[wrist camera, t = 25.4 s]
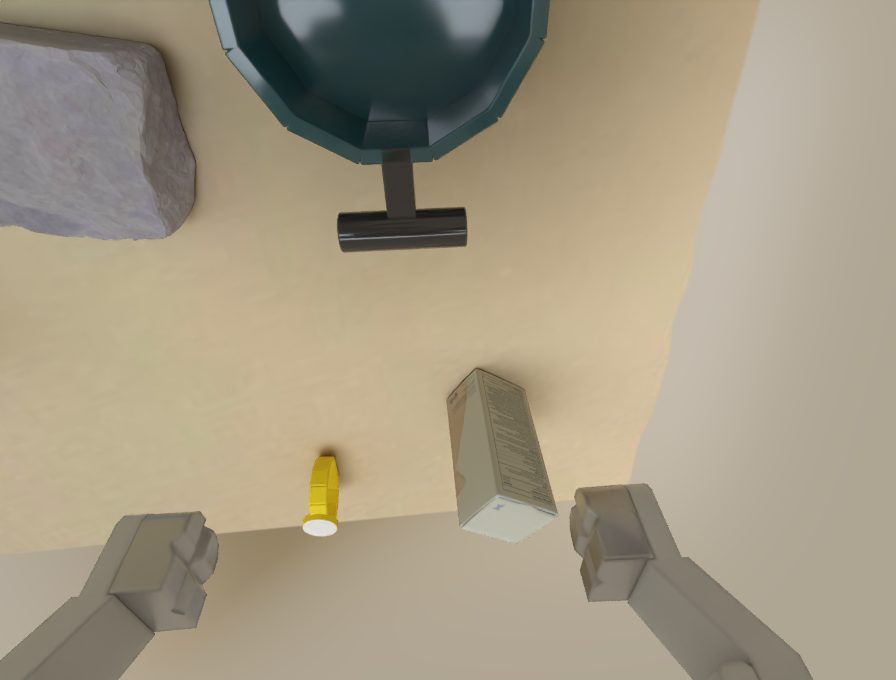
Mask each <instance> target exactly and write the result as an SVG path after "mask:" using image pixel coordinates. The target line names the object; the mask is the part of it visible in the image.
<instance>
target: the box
mask: <svg viewBox="0 0 896 680" xmlns="http://www.w3.org/2000/svg"><path fill="white" fill-rule="evenodd" d="M447 409H448V420H449V429H450V438H451V448H452V458H453V468H454V478H455V487H456V497H457V507H458V517H459V527H460V528H461V529H463V530H467V531H470V532H474V533H478V534H481V535H484V536H488V537H491V538H495V539H499V540H502V541H506V542H510V543H513V544H518V543H520V542H521V541H523V540H525V539H526V538H527V537H529V536H530V535H532V534H533V533H534V532H536V531H537V530H539V529H540V528H542V527H543V526H545V525H546V524H547V523H549V522H550V521H552V520H553V519H555V518H557V517H558V512H557V509H556V505H555V501H554V497H553V494H552V490H551V486H550V483H549V479H548V475H547V471H546V468H545V464H544V460H543V457H542V453H541V449H540V445H539V442H538V438H537V435H536V431H535V427H534V424H533V420H532V416H531V412H530V409H529V405H528V401H527V397H526V394H525V391H524V390H523V389H521V388H519V387H517V386H515V385H513V384H511V383H509V382H507V381H504V380H502V379H500V378H498V377H496V376H493V375H491V374H489V373H486V372H483V371H481V370H479V369H475V370H474V371H473V372H472V373H471V374H470V375H469V376H468V377H467V378H466V379H465V380H464V381H463V382H462V384H461V385H460V386H459V387H458V388H457V389H456V390H455V391H454V392H453V394H452V395H451V396H450V397H449V398H448V399H447Z"/></svg>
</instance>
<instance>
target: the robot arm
mask: <svg viewBox="0 0 896 680" xmlns="http://www.w3.org/2000/svg"><path fill="white" fill-rule="evenodd" d="M574 498H575V501H576V505H575V506H574V507H572V508H571V513H570V531H571V537H572V541H573V546H574V549H575V551H576V552H577V553H578V554H579V555H580V556H581V557H582V558H583V562H582V565H581V569H580V572H581V576H582V580H583V584H584V587H585V591H586V595H587V598H588V601H589V602H596V601H621V600H628V604H629V605H630V606H631V607H632V608H633V609H634V611H635V612H636V613H637V614H638V615H639V617H641V619H642V620H643V621H644V623H645V624H646V625H647V626H648V627H649V628H650V629H651V630H652V632H653V633H654V634H655V635H656V637H657V638H658V639H659V640H660V641H661V642H662V644H663V645H664V646H665V647H666V649H667V650H668V651H669V652H670V653H671V654H672V656H673V657H674V658H675V659H676V660H677V661H678V663H679V664H680V665H681V666H682V667H683V669H685V671H686V672H687V673H688V674H689V676H690V677H691V678H692V679H693V680H813V679H812V677H811V675H810V673H809V671H808V669H807V667H806V666H805V664H804V662H803V660H802V658H801V656H800V655H799V654H798V653H797V652H796V651H795V650H794V649H793V648H791V647H790V646H789V645H788V644H787V643H786V642H785V641H783V640H782V639H781V638H780V637H779V636H778V635H777V634H776V633H774V632H773V631H772V630H771V629H770V628H769V627H768V626H766V625H765V624H764V623H763V622H762V621H761V620H760V619H758V618H757V617H756V616H755V615H754V614H753V613H752V612H750V611H749V610H748V609H747V608H746V607H745V606H744V605H742V604H741V603H740V602H739V601H738V600H737V599H735V598H734V597H733V596H732V595H731V594H730V593H729V592H728V591H727V590H725V589H724V588H723V587H722V586H721V585H720V584H719V583H717V582H716V581H715V580H714V579H713V578H712V577H711V576H709V575H708V574H707V573H706V572H705V571H704V570H703V569H701V568H700V567H699V566H698V565H697V564H696V563H695V562H693V561H692V560H691V559H690V558H689V557H681V555H680V553H679V550H678V548H677V546H676V543H675V541H674V539H673V537H672V534H671V532H670V530H669V528H668V525H667V523H666V521H665V519H664V516H663V514H662V512H661V509H660V507H659V505H658V502H657V500H656V498H655V496H654V494H653V491H652V489H651V488H650V487H649V486H648V485H647V484H644V483H643V484H628V485H609V486H597V487H584V488H578V489H577V490H576V492H575V496H574ZM205 521H206V518H205V517H204V516H203V514H202V513H201V512H200V511H197V512H181V513H165V514H142V515H128V516H124V517H123V518H122V519H121V520H120V521H119V522H118V523H117V524H116V525H115V527H114V529H113V531H112V533H111V535H110V537H109V539H108V541H107V543H106V545H105V547H104V549H103V551H102V553H101V554H100V556H99V558H98V560H97V562H96V564H95V566H94V568H93V570H92V572H91V574H90V576H89V578H88V580H87V582H86V584H85V586H84V587H83V590H82V591H81V593H80V595H79V597H71V598H70V599H69V600H68V601H67V602H66V603H64V604H63V605H62V606H61V607H60V608H59V609H58V610H56V611H55V612H54V613H53V614H52V615H51V616H50V617H49V618H47V619H46V620H45V621H44V622H43V623H42V624H41V625H40V626H38V627H37V628H36V629H35V630H34V631H33V632H32V633H31V634H29V635H28V636H27V637H26V638H25V639H24V640H23V641H21V643H19V644H18V645H17V646H16V647H15V648H14V649H12V650H11V651H10V652H9V653H8V654H7V655H6V656H5V657H3V658H2V659H1V660H0V680H118V679H119V678H120V677H121V675H122V674H123V673H124V672H125V671H126V669H127V668H128V667H129V666H130V665H131V663H132V662H133V661H134V660H135V658H136V657H137V656H138V655H139V653H140V652H141V651H142V650H143V649H144V648H145V646H146V645H147V644H148V643H149V641H150V640H151V639H152V638H153V637H154V635H155V633H154V632H160V631H170V630H181V629H191V628H196V627H197V623H198V620H199V617H200V614H201V611H202V608H203V605H204V602H205V598H206V596H207V594H206V592H205V589H204V586H203V584H204V583H205V582H206V581H207V580H208V579H209V578H210V576H211V575H212V574H213V573H214V570H215V567H216V563H217V560H218V548H219V544H218V540H217V536H216V534H215V533H214V531H213V530H211V529H209V528H207V527H205V526H204V524H205Z"/></svg>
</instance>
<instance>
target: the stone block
mask: <svg viewBox="0 0 896 680" xmlns="http://www.w3.org/2000/svg"><path fill="white" fill-rule="evenodd" d="M195 169H196V163H195V160H194V157H193V154H192V152H191V150H190V148H189V146H188V142H187V139H186V136H185V133H184V131H183V129H182V126H181V122H180V119H179V116H178V112H177V104H176V101H175V99H174V96H173V93H172V89H171V86H170V82H169V79H168V76H167V73H166V68H165V64H164V62H163V59H162V57H161V55H160V53H159V52H158V51H157V50H156V49H155V48H154V47H152V46H150V45H148V44H145V43H143V42H133V41H129V40H122V39H113V38H105V37H97V36H91V35H85V34H76V33H68V32H60V31H54V30H48V29H42V28H35V27H26V26H19V25H12V24H6V23H0V227H1V226H12V225H14V226H19V227H23V228H26V229H28V230H30V231H33V232H38V233H43V234H50V235H57V236H66V237H85V236H88V237H92V238H97V239H103V240H110V239H113V240H122V239H127V238H132V239H134V240H138V239H163V238H166V237H167V236H170V235H171V234H172V233H174V232H175V231H176V230H177V229H178V228H179V227H181V225H182V224H183V223H184V221H185V219H186V218H187V216H188V214H189V212H190V210H191V208H192V206H193V205H194V177H195Z"/></svg>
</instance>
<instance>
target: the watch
mask: <svg viewBox="0 0 896 680" xmlns="http://www.w3.org/2000/svg"><path fill="white" fill-rule="evenodd" d="M310 486H311V487H310V493H309V512H310V514H309V515H307V516H306V517H305V518H304V519H303V525H302V528H303V530H304V531H305V532H307V533H308V534H311V535H314V536H328V535H332V534H333V533H334V532H336V531H337V526H338V520H337V518H336V516H337V509H338V497H339V489H338V488H339V474H338V470H337V466H336V462H335V457H334V456H331V457H319V458H317V459H316V460H315V463H314V466H313V469H312V475H311V481H310Z"/></svg>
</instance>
